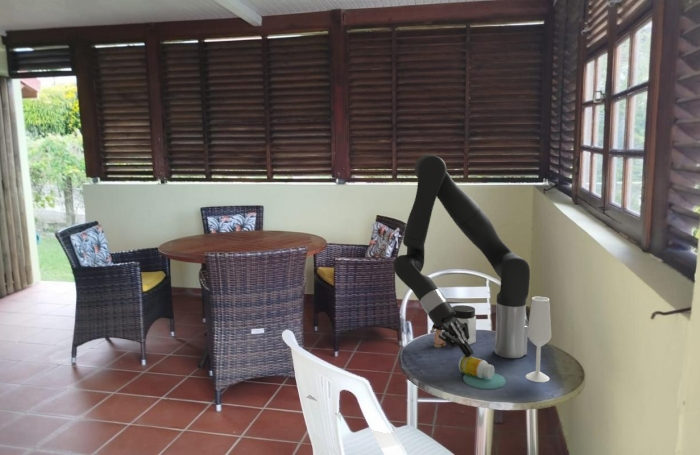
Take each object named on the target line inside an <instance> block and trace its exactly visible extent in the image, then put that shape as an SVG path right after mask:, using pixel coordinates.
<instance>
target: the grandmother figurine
mask: <svg viewBox="0 0 700 455" xmlns="http://www.w3.org/2000/svg"><path fill="white" fill-rule="evenodd" d="M430 333H431V334H433V333H435V334H434V338H433V339H434V345H433V347H435V348H442V347H446V346H447V343H446V342H445V341H443V340H442V339H440V338H439V335H440V334H441V330H440V329H439V326H435V325H434V323H433V325H432V326H431V330H430Z"/></svg>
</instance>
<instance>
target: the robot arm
mask: <svg viewBox="0 0 700 455" xmlns="http://www.w3.org/2000/svg"><path fill="white" fill-rule="evenodd" d="M414 174H415V176H416V178H417V185H416V186H417V188H416V194H415V198H414V201H413V204H412V207H411V210H410V212H409V215H408V218H407V222H406V226H405V229H404V234H403V240H402V243H403V246H405V247H406V254H401V255H398V256H396V258H394V260H393V264H392V265H393V271H394V273H395V274H396V276H397V277H398V278H399V280H401V282H403V283H404V285H406V286H407V287H408V288H409V289H410V290H411V291H412V292H413V293H414V296H415V297H416V298H417V300H418V301H419V303H420V304H421V306H422V309H423V310H424V311H425V313H426V314H427V316H428V317H429V319H430V321H431V322H432V323H433V324H434V325H435V326H439V329H440V330H441V334H440V335H439V338H440V339H442V340H443V341H445V344H448V345H450V346H451V347H453V348H455V347H457V348H459V349H460V351H461V352H462V353H463V356H464V355H465V356H466V357H469V356H471V357H472V355H473V354H474V351H473V349H472V347H471V345H469V344H468V343H467V340H468V339H469V331H468V325H467V323H464V324H462V323H460V321H459V320H458V319H457V318H456V317H455V311H454V309H453V308H452V307H453V306H452V305H451V304H450V301H448V300H447V298H446V297H445V296H444V294H443V293H442V292H441V291H440V289H439V288H438V286H437V285H436V284H435V282H434V281H433V279H432V278H430V276H427V275H424V274H422V273H421V272H422V270H423V268H424V265H425V250H426V249H425V243H426V240H427V235H428V231H429V226H430V222H431V217H432V213H433V210H434V206H435V202H436V199H438V201H439V202H440V203H441V204H442V206H443V208H444V209H445V211H446V212H447V214H448V215H449V217H450V218H451V219H452V221H453V222H454V223H455V225H456V226H457V227H458V229H459V230H460V231H461V232H462V233H463V234H464V235H465V236H466V238H468V240H469V241H470V242H471V243H472V244H473V245H475V247H477V249H479V250H480V251H481V253H482V254H483V255H484V256H485V258H486V260H487V261H488V262H489V263H490V265H491V267H492V268H493V270H494V272H495V273H496V275H497V276H498V277H499V278H500V289H499V292H498V293H497V294H496V310H495V311H496V312H495V314H496V315H495V341H494V342H495V347H494V348H495V349H494V352H495V354H496V355H497V356H499V357H502V358H506V359H519V358H522V357H524V356H525V355H527V354H528V353H527V352H528V336H527V331H528V325H526V312H527V310H526V309H527V308H526V307H527V305H526V304H527V298H528V296H529V291H530V278H531V277H530V276H531V270H530V265H529V263H528V262H527V260H526V259H525V258H523V257H521V256H519V255H518V254H516V253H515V252H513V251H512V250H511V249H510V248H509V247H508V246H507V245H506V244H505V243H504V242H503V240H502V239H501V238H500V237H499V235H498V233H497V231H496V229H495V227H494V225H493V223H492V221H491V220H490V218H489V216H488V215H487V214H486V212H484V210H483V209H482V207H481V206H480V205H479V204H478V203H477V202H476V201H475V200H474V199H473V198H472V197H471V196H470V195H468V193H466V192H465V191H464V190H463V189H462V188H461V187H460V186H459V185H457V183H456V182H455V181H454V180H453V179H452V177H451V175H450V174H449V173H448V171H447V166H446V162H445V161H444V160H443V158H441V157H439V156H437V155H435V154H424V155H422V156H420V157H418V159H417V160H416V162H415V164H414Z"/></svg>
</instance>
